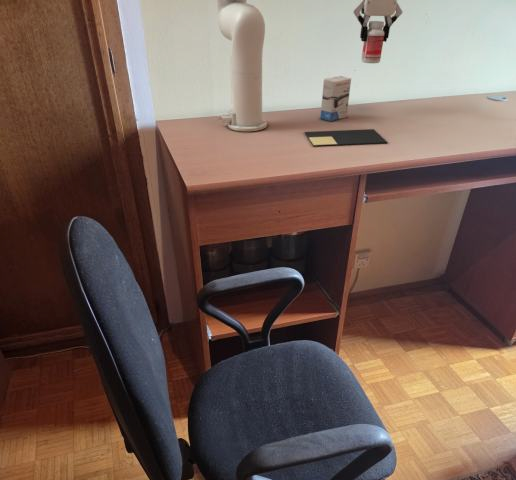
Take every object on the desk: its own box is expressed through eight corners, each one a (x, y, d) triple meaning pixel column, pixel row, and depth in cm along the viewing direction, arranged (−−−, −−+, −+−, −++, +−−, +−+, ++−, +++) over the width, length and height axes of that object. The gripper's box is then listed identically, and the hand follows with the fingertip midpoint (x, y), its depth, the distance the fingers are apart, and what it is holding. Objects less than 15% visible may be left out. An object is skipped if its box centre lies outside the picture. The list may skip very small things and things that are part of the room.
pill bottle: (383, 62, 149) (390, 22, 142) (370, 64, 146) (376, 22, 139) (370, 60, 153) (376, 20, 146) (357, 61, 150) (362, 20, 143)
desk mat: (313, 146, 130) (313, 144, 129) (304, 133, 139) (304, 131, 139) (387, 143, 131) (387, 141, 131) (373, 130, 141) (373, 128, 141)
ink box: (330, 121, 149) (334, 81, 141) (319, 118, 151) (322, 78, 144) (347, 117, 153) (352, 77, 145) (336, 114, 156) (340, 75, 148)
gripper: (407, -31, 138) (395, 39, 149) (353, -32, 136) (344, 39, 148) (417, -31, 132) (403, 42, 144) (360, -32, 130) (350, 42, 142)
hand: (373, 40), depth 146 cm, fingers closed on pill bottle, 6 cm apart
